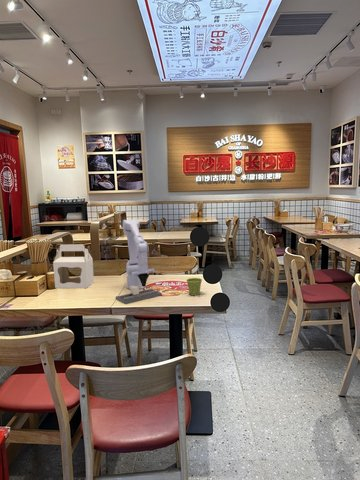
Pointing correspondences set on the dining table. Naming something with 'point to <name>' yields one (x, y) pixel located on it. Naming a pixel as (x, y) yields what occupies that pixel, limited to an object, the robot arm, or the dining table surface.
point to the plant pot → (194, 285)
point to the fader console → (138, 296)
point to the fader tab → (134, 290)
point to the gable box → (82, 262)
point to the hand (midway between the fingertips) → (143, 286)
